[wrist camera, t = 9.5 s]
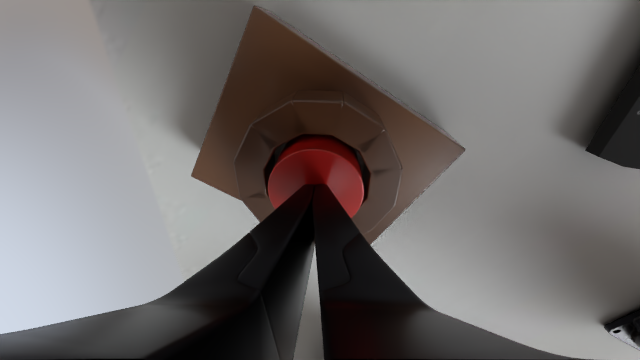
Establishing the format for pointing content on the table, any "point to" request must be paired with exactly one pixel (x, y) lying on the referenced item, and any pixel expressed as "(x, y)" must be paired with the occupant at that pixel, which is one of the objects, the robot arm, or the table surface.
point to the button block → (316, 125)
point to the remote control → (621, 128)
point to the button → (318, 170)
